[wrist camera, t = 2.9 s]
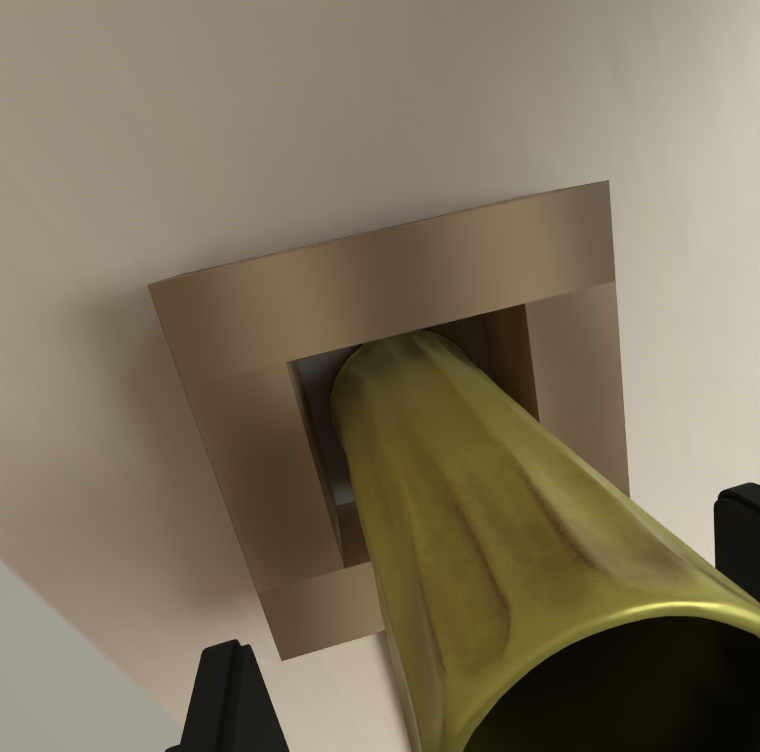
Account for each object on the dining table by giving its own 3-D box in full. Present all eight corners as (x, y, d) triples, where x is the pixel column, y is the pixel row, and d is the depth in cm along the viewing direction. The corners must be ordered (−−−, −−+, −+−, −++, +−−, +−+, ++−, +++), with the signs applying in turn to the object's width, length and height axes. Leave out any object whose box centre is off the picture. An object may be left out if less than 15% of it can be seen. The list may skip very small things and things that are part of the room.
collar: (544, 191, 18) (608, 180, 14) (577, 501, 22) (633, 556, 18) (182, 274, 17) (147, 285, 13) (285, 584, 21) (281, 660, 17)
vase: (364, 494, 20) (485, 1002, 7) (303, 366, 19) (303, 714, 5) (496, 436, 21) (867, 817, 7) (449, 302, 19) (831, 474, 5)
